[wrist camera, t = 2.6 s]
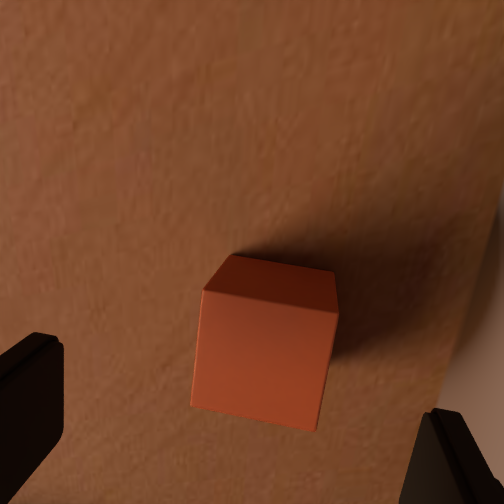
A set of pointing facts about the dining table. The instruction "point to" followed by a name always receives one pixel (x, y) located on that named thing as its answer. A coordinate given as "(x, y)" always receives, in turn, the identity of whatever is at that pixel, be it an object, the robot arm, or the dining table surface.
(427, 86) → the dining table surface
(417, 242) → the dining table surface
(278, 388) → the terracotta block
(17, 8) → the dining table surface
